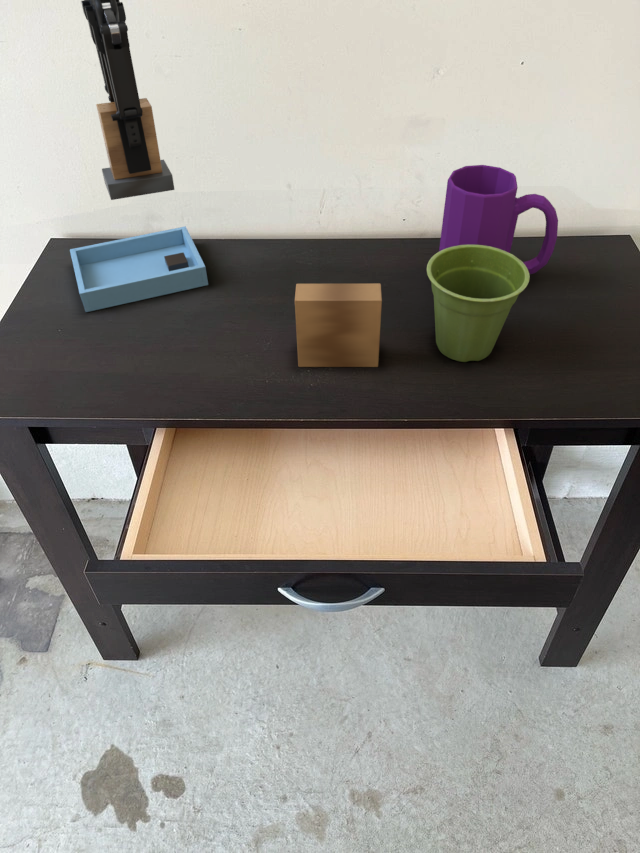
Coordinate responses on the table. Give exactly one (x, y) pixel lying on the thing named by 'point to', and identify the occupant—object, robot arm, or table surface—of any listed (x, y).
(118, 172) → the brush
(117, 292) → the pan
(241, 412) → the table surface
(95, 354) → the table surface
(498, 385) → the table surface
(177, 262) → the dark grey flat block
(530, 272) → the mug
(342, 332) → the square wooden block
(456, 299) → the plant pot
